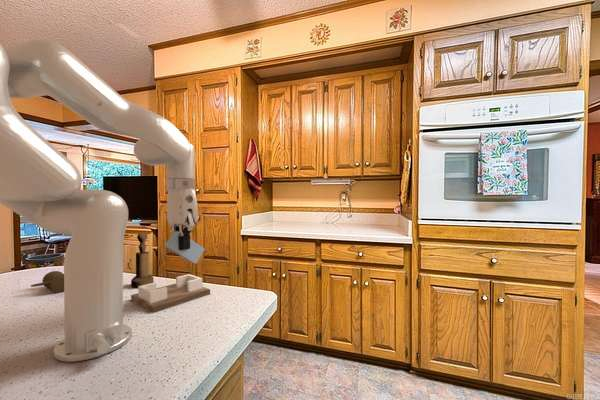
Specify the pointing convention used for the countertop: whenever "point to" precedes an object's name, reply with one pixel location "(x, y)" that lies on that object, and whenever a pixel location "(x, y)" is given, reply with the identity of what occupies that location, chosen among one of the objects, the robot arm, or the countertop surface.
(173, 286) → the board
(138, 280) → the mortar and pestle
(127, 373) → the countertop surface
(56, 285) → the kendama
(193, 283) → the end caps
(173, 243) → the light blue rectangular block
